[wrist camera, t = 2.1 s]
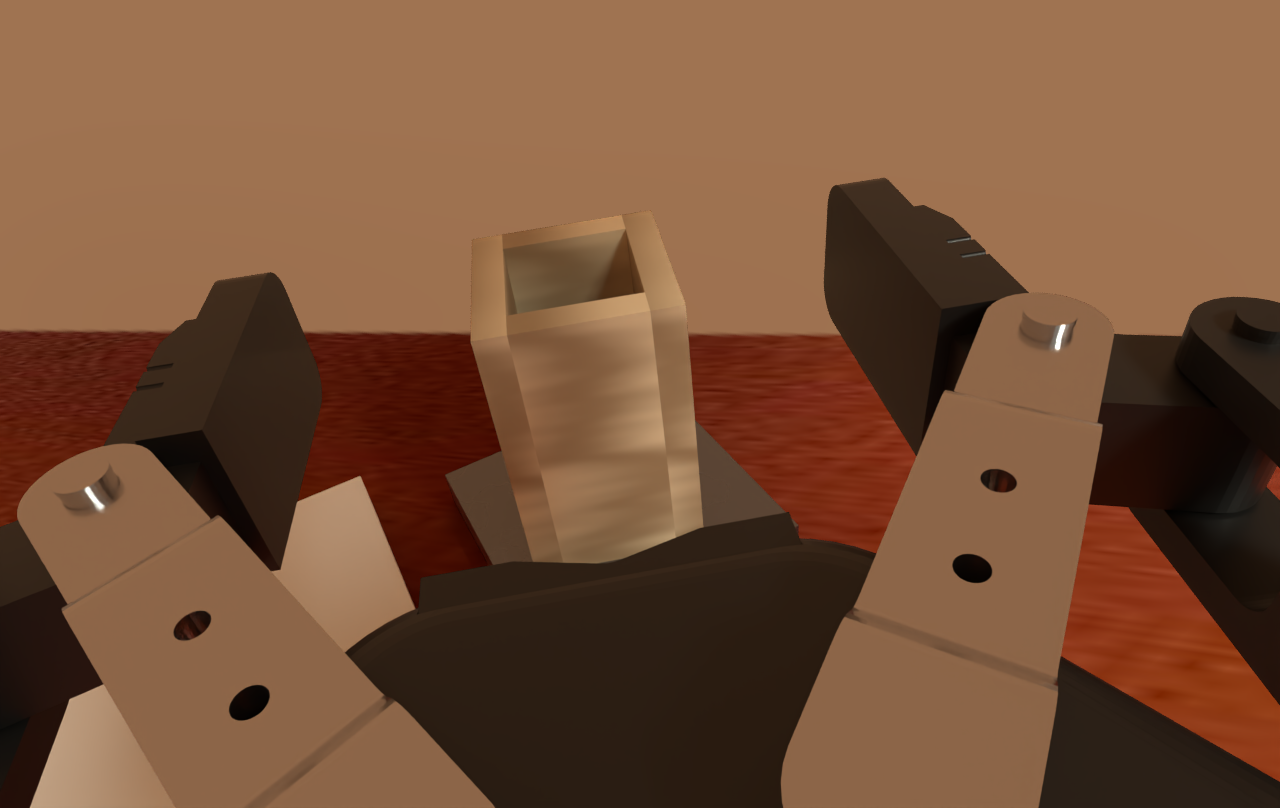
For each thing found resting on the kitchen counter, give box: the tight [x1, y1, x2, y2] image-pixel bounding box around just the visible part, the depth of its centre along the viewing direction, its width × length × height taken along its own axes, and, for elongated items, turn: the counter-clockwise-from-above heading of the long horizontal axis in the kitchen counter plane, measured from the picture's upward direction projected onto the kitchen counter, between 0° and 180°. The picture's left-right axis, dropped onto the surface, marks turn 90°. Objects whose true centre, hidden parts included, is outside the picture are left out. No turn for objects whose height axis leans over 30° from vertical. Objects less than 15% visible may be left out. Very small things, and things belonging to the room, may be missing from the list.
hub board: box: [30, 476, 416, 808], centre depth 25 cm, size 14×14×8 cm
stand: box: [445, 421, 798, 566], centre depth 29 cm, size 10×10×10 cm
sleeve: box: [471, 210, 703, 563], centre depth 28 cm, size 6×6×10 cm
